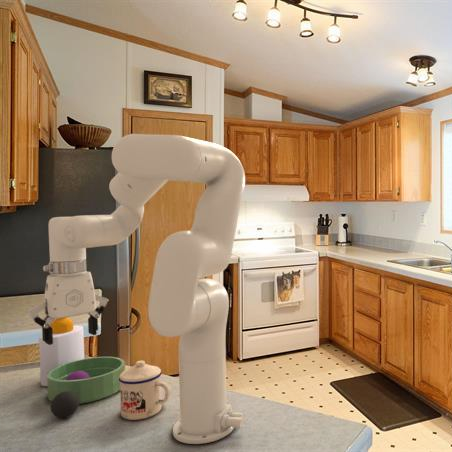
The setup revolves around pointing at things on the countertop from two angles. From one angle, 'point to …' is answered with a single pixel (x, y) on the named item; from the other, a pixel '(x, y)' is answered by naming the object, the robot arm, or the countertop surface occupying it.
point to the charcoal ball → (64, 404)
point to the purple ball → (78, 375)
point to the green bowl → (90, 387)
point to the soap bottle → (61, 346)
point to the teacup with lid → (141, 391)
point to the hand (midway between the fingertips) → (71, 338)
